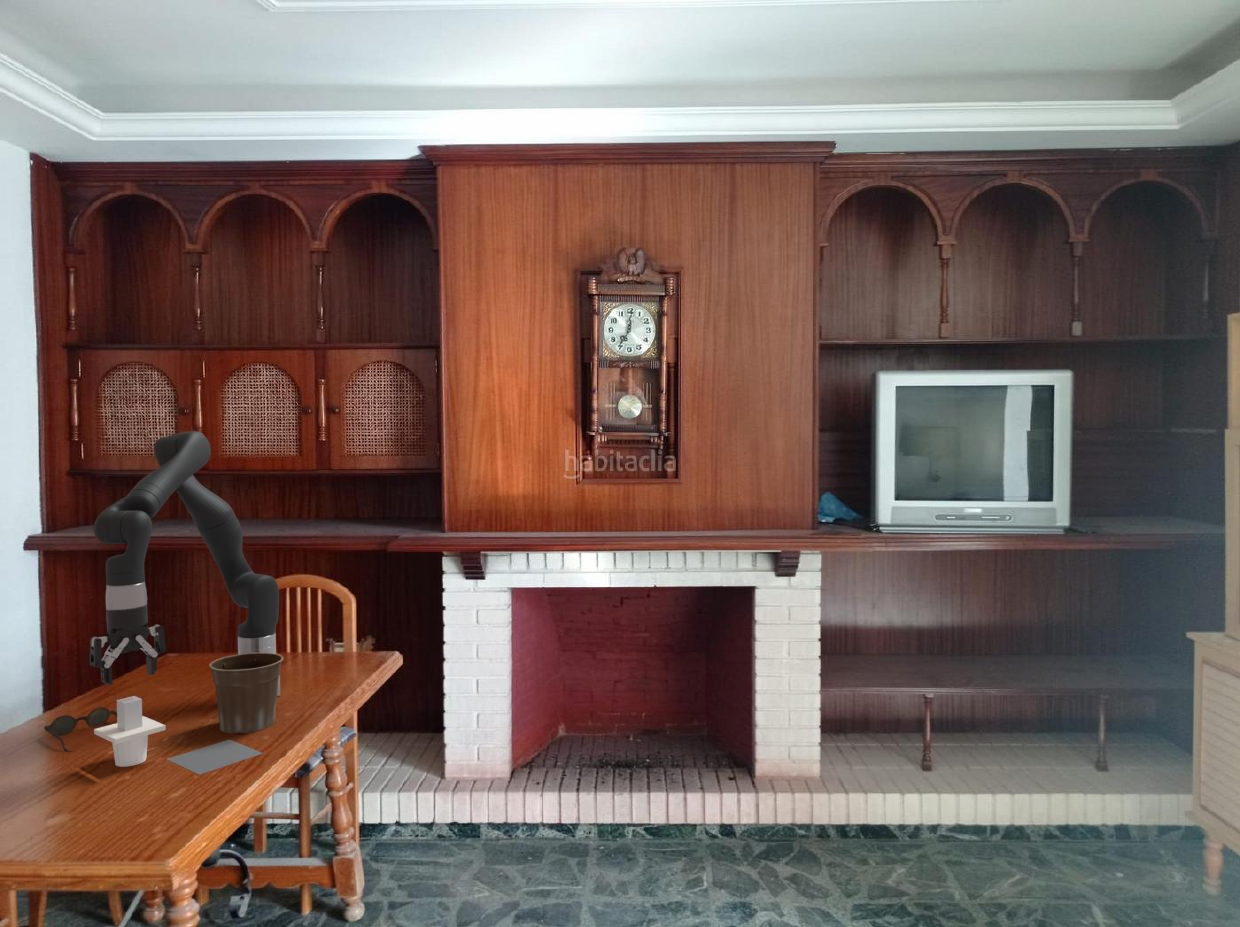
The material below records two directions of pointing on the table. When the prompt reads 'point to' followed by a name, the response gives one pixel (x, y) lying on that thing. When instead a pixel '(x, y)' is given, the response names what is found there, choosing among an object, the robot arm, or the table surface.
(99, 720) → the eyeglasses
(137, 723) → the lid
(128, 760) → the shot glass
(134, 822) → the table surface
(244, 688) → the plant pot
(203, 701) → the table surface
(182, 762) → the mat
